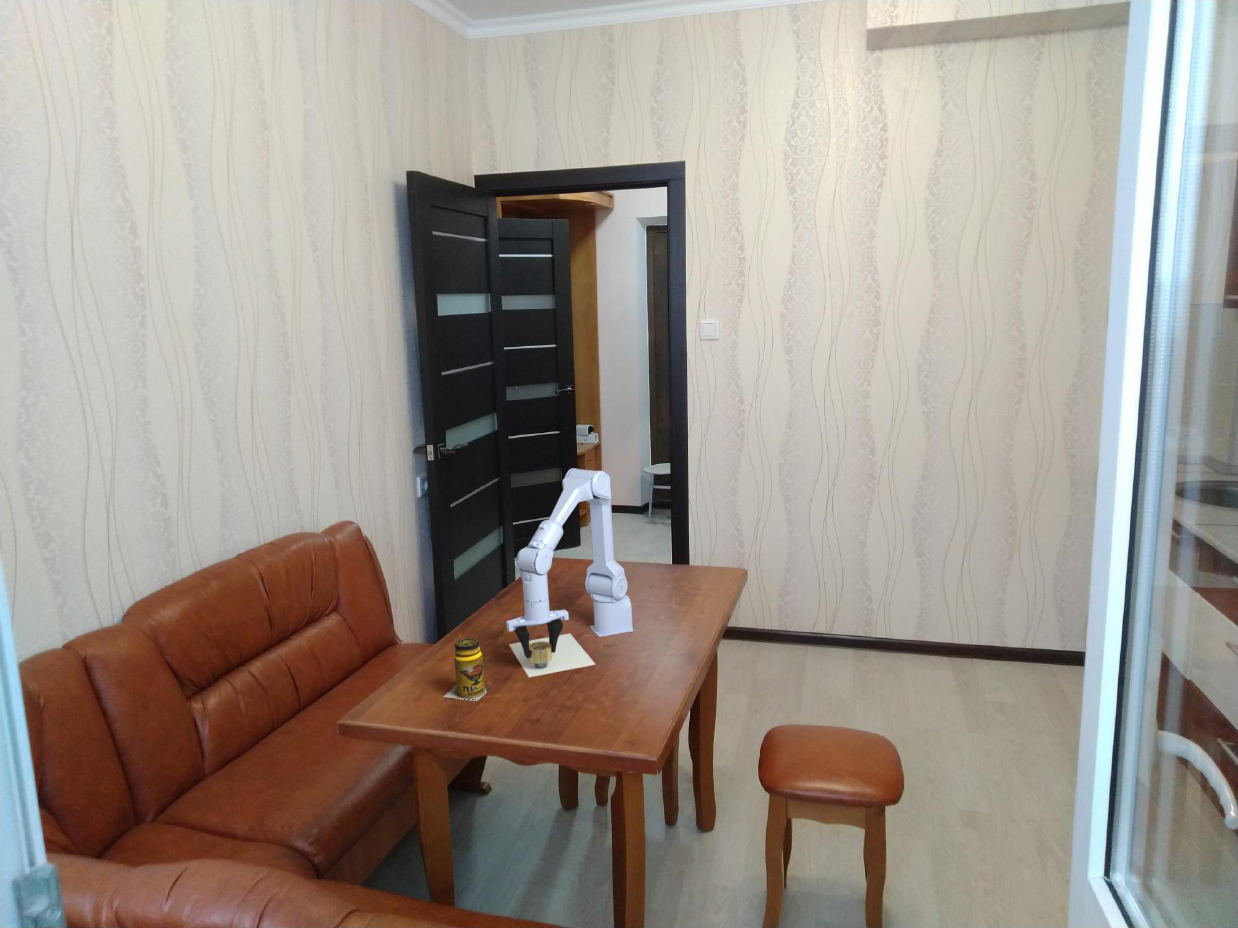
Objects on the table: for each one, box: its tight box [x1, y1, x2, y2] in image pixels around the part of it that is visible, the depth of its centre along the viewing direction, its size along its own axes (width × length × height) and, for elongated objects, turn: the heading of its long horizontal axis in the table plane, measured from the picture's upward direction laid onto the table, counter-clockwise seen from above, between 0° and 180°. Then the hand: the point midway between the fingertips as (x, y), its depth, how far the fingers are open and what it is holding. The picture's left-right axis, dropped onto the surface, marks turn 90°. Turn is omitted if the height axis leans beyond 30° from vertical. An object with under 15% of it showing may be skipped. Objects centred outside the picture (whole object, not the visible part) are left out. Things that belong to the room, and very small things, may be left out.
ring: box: [528, 641, 553, 663], centre depth 198 cm, size 6×6×3 cm
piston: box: [534, 646, 547, 669], centre depth 198 cm, size 3×3×4 cm
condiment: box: [443, 637, 488, 702], centre depth 187 cm, size 7×8×12 cm
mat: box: [508, 633, 596, 678], centre depth 206 cm, size 16×21×1 cm
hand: (540, 653), depth 198 cm, fingers closed on ring, 6 cm apart
